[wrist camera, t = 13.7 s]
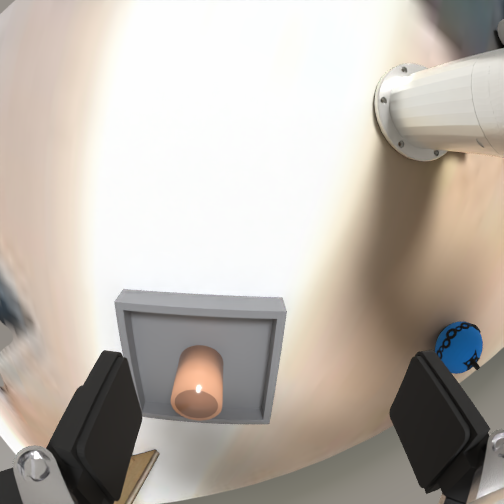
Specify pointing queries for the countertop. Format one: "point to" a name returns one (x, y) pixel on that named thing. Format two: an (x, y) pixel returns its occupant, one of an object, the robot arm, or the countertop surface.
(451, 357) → the ornament
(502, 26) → the pony
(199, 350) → the terracotta cup
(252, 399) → the grey square tray
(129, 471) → the picture frame
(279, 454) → the countertop surface
